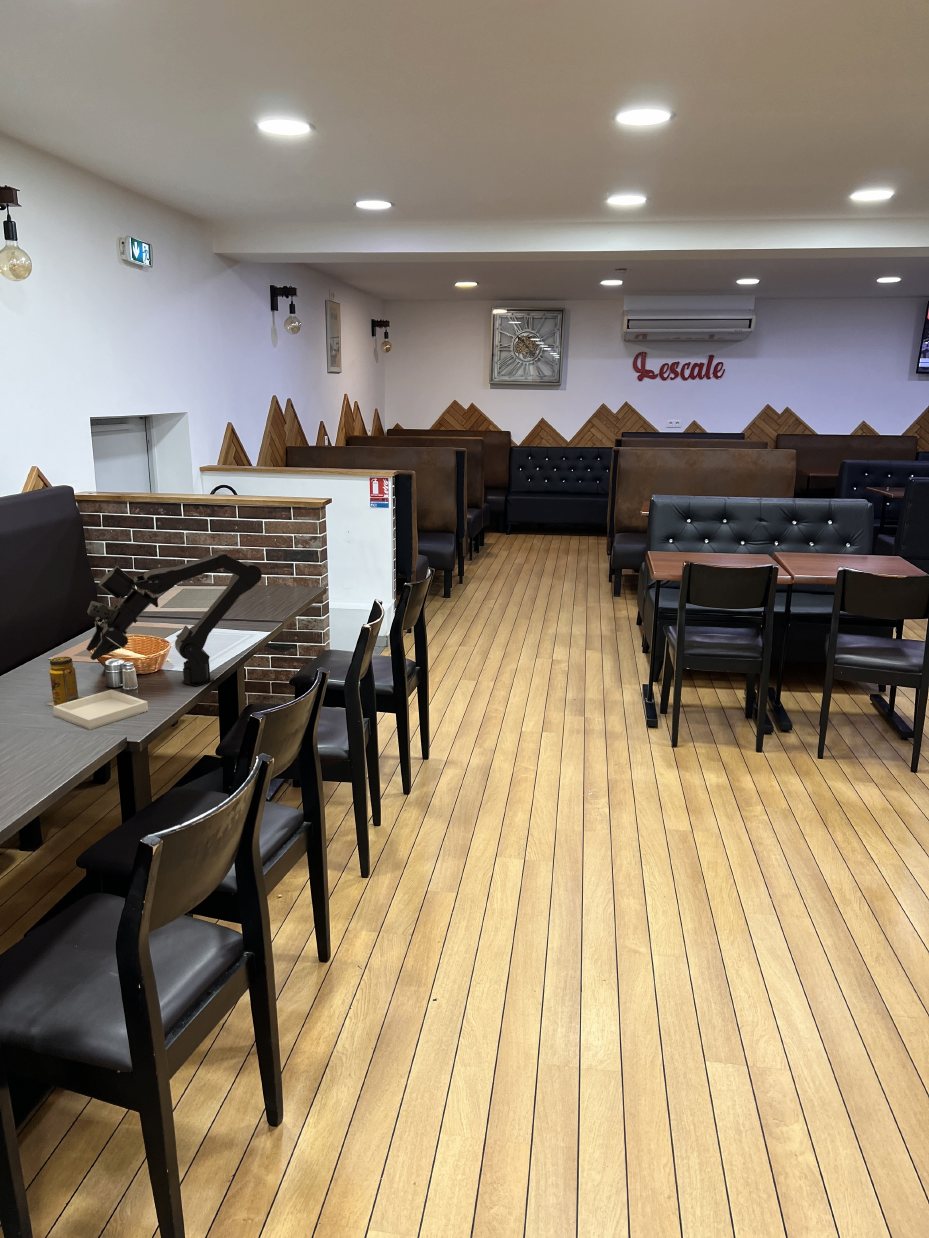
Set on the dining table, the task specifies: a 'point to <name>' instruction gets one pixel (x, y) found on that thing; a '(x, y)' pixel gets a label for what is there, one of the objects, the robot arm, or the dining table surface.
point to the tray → (100, 709)
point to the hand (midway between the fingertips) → (89, 654)
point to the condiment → (63, 681)
